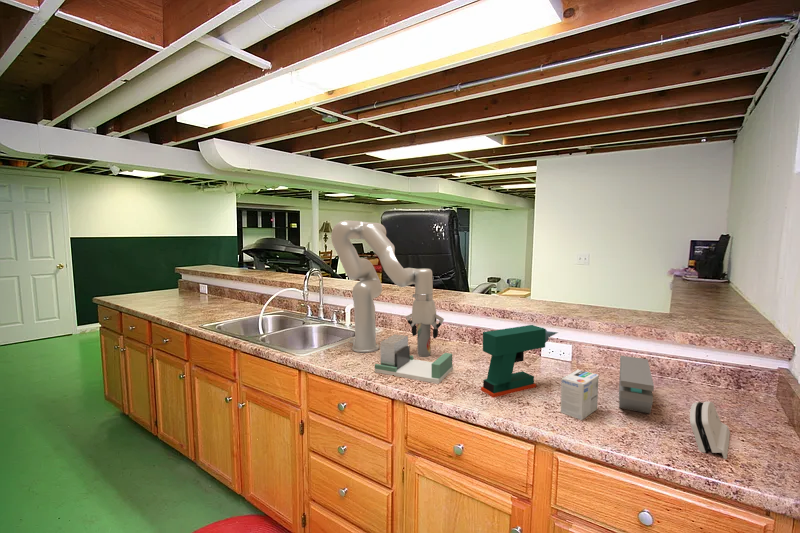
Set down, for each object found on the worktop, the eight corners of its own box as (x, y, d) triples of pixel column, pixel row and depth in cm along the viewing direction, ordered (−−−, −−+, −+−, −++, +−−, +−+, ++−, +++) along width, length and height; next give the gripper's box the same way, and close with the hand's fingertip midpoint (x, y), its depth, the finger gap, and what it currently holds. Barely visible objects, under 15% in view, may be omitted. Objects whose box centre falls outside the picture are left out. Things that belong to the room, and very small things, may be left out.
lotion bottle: (432, 353, 167) (432, 309, 166) (427, 357, 162) (427, 311, 160) (420, 352, 170) (420, 308, 168) (415, 356, 165) (415, 310, 163)
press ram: (380, 367, 147) (380, 341, 146) (395, 357, 158) (394, 334, 157) (396, 370, 144) (396, 344, 143) (410, 360, 154) (410, 336, 154)
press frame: (374, 372, 146) (374, 355, 145) (394, 359, 160) (393, 344, 160) (438, 383, 134) (438, 366, 134) (453, 369, 149) (453, 352, 148)
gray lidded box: (619, 386, 131) (620, 355, 130) (646, 390, 127) (647, 359, 126) (619, 417, 109) (620, 380, 108) (651, 423, 105) (653, 385, 104)
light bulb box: (575, 402, 119) (576, 368, 118) (598, 409, 114) (599, 374, 113) (559, 412, 112) (560, 377, 111) (582, 421, 107) (584, 384, 106)
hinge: (726, 459, 89) (710, 416, 90) (701, 458, 92) (686, 416, 93) (730, 432, 101) (715, 394, 102) (708, 431, 104) (694, 395, 105)
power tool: (549, 373, 143) (550, 321, 141) (564, 380, 137) (565, 325, 135) (479, 389, 129) (480, 331, 127) (493, 397, 123) (494, 337, 121)
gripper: (402, 297, 164) (403, 336, 166) (439, 299, 156) (440, 340, 158) (409, 295, 171) (410, 332, 172) (446, 297, 163) (446, 336, 164)
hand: (424, 336), depth 165 cm, fingers open, 9 cm apart
